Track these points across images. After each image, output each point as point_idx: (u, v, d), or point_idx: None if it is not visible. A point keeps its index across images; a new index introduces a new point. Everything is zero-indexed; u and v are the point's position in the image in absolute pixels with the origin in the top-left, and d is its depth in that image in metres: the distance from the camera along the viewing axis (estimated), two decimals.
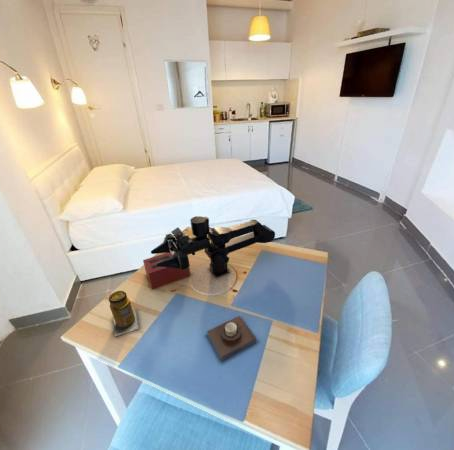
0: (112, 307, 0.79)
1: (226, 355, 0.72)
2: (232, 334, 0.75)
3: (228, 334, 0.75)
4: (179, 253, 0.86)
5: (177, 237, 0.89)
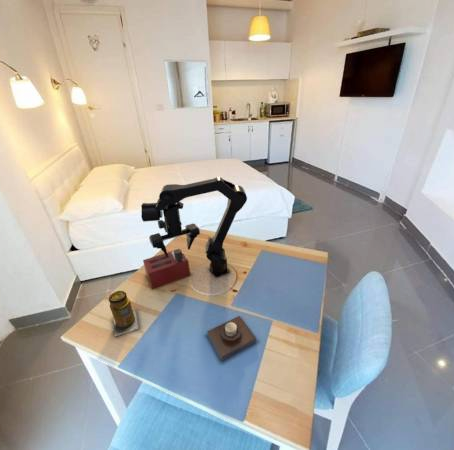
0: (112, 307, 0.79)
1: (226, 355, 0.72)
2: (232, 334, 0.75)
3: (228, 334, 0.75)
4: None
5: (163, 227, 1.01)
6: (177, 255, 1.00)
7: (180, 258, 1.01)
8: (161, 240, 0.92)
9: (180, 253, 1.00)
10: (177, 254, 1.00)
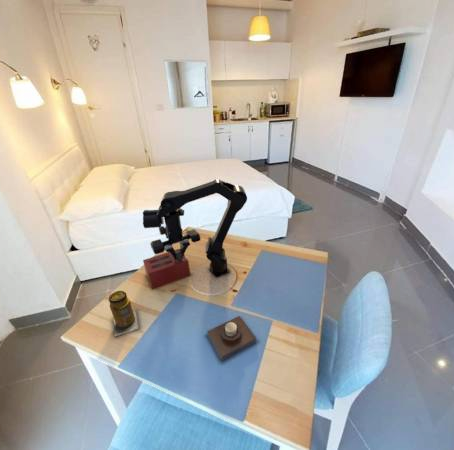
0: (112, 307, 0.79)
1: (226, 355, 0.72)
2: (232, 334, 0.75)
3: (228, 334, 0.75)
4: None
5: (164, 233, 1.02)
6: (177, 255, 1.00)
7: (180, 258, 1.01)
8: (162, 246, 0.94)
9: (180, 253, 1.00)
10: (177, 254, 1.00)
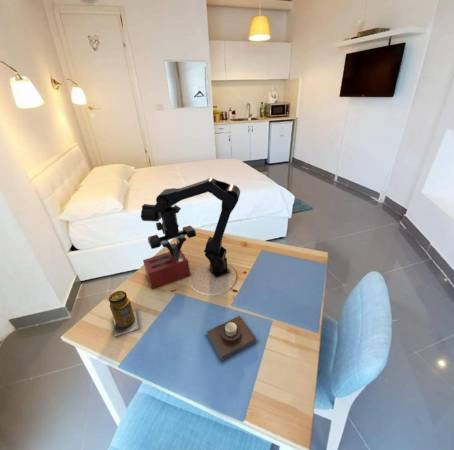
0: (112, 307, 0.79)
1: (226, 355, 0.72)
2: (232, 334, 0.75)
3: (228, 334, 0.75)
4: None
5: None
6: (173, 249, 1.04)
7: (176, 252, 1.05)
8: (159, 241, 0.97)
9: (176, 247, 1.04)
10: (173, 248, 1.04)
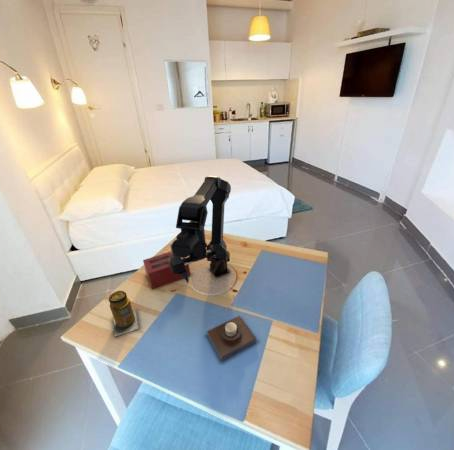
0: (112, 307, 0.79)
1: (226, 355, 0.72)
2: (232, 334, 0.75)
3: (228, 334, 0.75)
4: None
5: None
6: None
7: None
8: (182, 265, 0.77)
9: None
10: None
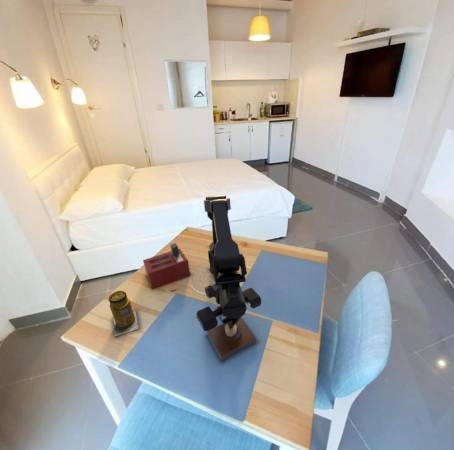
0: (112, 307, 0.79)
1: (226, 355, 0.72)
2: (232, 334, 0.75)
3: (228, 334, 0.75)
4: None
5: None
6: (173, 249, 1.04)
7: (176, 252, 1.05)
8: (215, 320, 0.67)
9: (176, 247, 1.04)
10: (173, 248, 1.04)
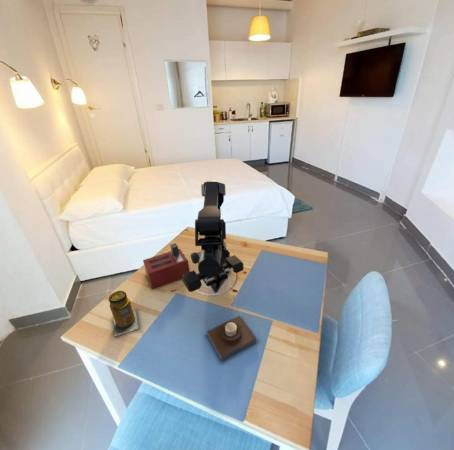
0: (112, 307, 0.79)
1: (226, 355, 0.72)
2: (232, 334, 0.75)
3: (228, 334, 0.75)
4: None
5: None
6: (173, 249, 1.04)
7: (176, 252, 1.05)
8: (199, 282, 0.72)
9: (176, 247, 1.04)
10: (173, 248, 1.04)
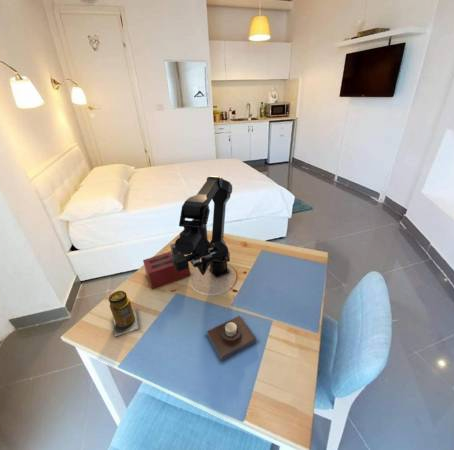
0: (112, 307, 0.79)
1: (226, 355, 0.72)
2: (232, 334, 0.75)
3: (228, 334, 0.75)
4: None
5: None
6: (173, 249, 1.04)
7: (176, 252, 1.05)
8: (186, 262, 0.79)
9: None
10: (173, 248, 1.04)
